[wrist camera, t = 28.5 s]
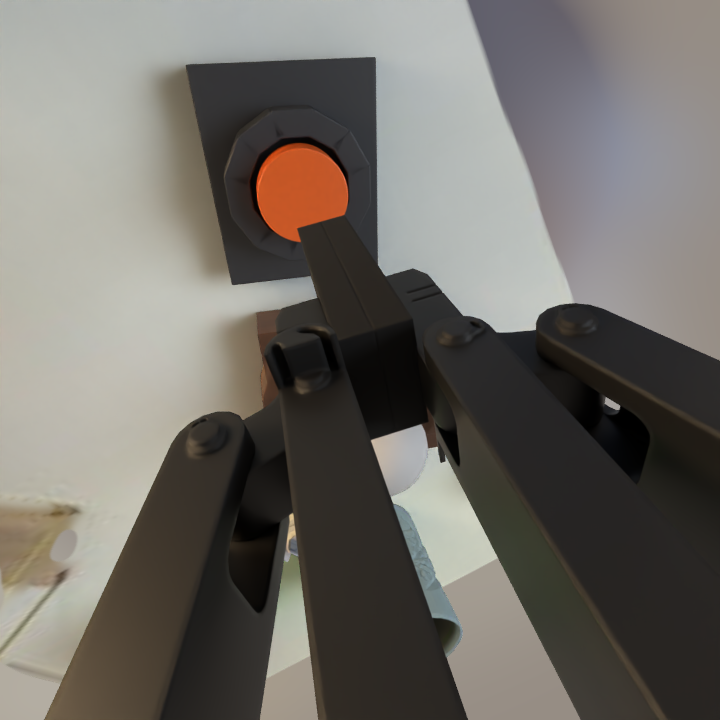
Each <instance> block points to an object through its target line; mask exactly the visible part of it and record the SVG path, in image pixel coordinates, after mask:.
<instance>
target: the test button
mask: <svg viewBox="0 0 720 720" xmlns="http://www.w3.org/2000/svg"><path fill="white" fill-rule="evenodd" d="M256 190H257V200H258V205H259V209H260V212H261V214H262V216H263V218H264V220H265V221H266V223H267V224H268V225H269V227H270V228H271V229H272V230H273V231H275V232H276V233H277V234H279V235H280V236H282V237H284V238H286V239H288V240H291V241H296V242H301V240H300V237H299V234H298V230H297V228H300V227H303V226H307V225H310V224H314V223H317V222H321V221H324V220H328V219H332V218H335V217H339V216H342V215H344V214H345V212H346V209H347V204H348V187H347V183H346V180H345V177H344V175H343V173H342V171H341V170H340V168H339V167H338V165H337V164H336V163H335V162H334V161H333V160H332V159H331V158H330V157H329V155H327V154H326V153H325V152H324V151H322V150H321V149H319V148H318V147H315V146H313V145H310V144H306V143H291V144H287V145H283V146H281V147H279V148H277V149H276V150H274V151H273V152H272V153H271V154H269V155H268V157H267V158H266V159H265V160H264V162H263V163H262V165H261V167H260V170H259V173H258V176H257V182H256Z"/></svg>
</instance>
